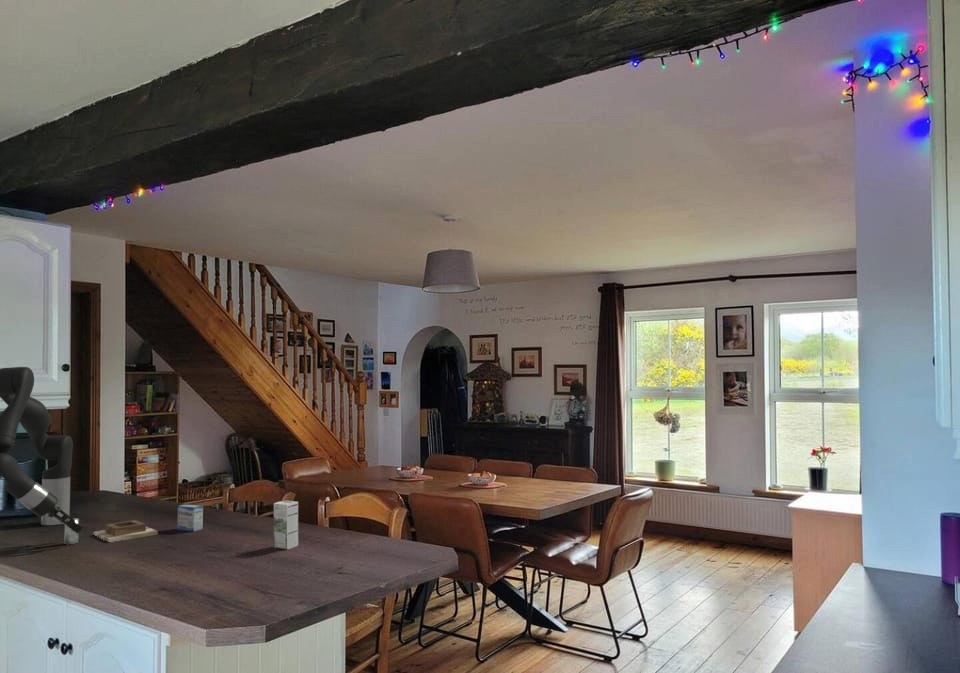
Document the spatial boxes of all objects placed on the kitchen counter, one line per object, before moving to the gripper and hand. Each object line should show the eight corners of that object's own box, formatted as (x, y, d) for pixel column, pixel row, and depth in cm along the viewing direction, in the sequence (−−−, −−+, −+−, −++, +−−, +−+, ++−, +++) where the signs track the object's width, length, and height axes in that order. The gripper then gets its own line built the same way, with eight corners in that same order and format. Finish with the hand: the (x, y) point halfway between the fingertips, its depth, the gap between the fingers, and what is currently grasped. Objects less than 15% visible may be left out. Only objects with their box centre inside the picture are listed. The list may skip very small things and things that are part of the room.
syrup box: (298, 545, 226) (299, 501, 227) (286, 550, 220) (287, 504, 221) (285, 544, 228) (285, 499, 229) (272, 548, 223) (273, 502, 224)
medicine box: (176, 530, 250) (177, 506, 251) (186, 527, 255) (186, 503, 255) (193, 531, 247) (194, 507, 248) (203, 529, 252) (203, 505, 252)
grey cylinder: (62, 543, 231) (63, 519, 232) (76, 541, 234) (76, 517, 235) (66, 545, 228) (67, 521, 229) (79, 543, 231) (80, 519, 232)
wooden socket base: (92, 535, 243) (93, 524, 243) (140, 527, 255) (140, 517, 255) (108, 542, 232) (108, 531, 232) (157, 534, 244) (157, 523, 244)
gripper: (53, 492, 222) (92, 522, 230) (41, 487, 232) (78, 516, 239) (34, 511, 218) (73, 541, 226) (22, 505, 228) (60, 535, 235)
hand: (76, 528), depth 232 cm, fingers open, 8 cm apart
